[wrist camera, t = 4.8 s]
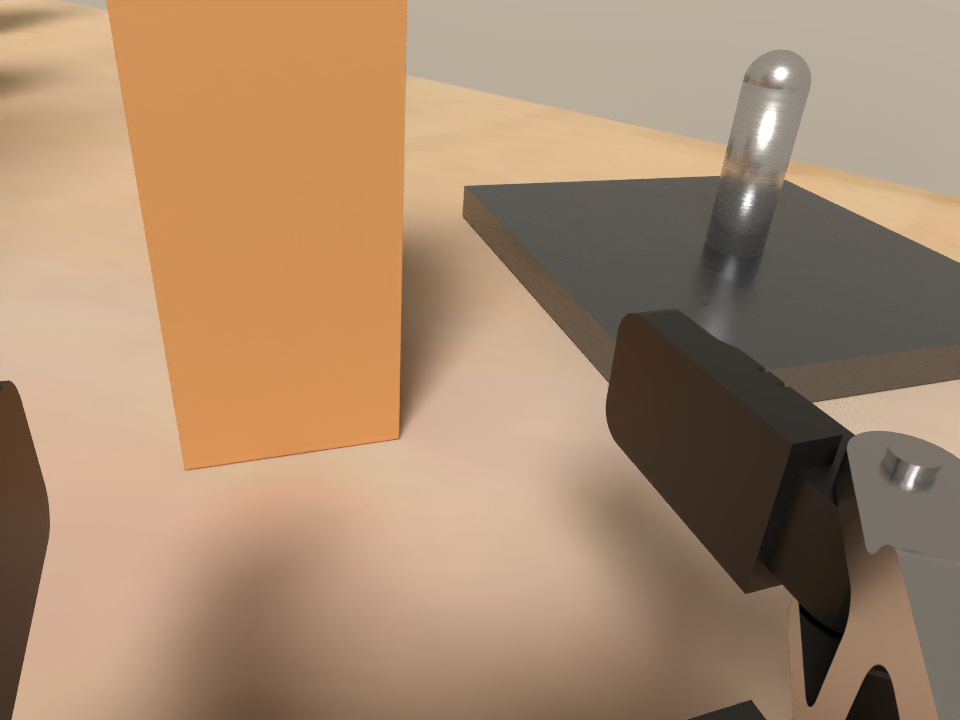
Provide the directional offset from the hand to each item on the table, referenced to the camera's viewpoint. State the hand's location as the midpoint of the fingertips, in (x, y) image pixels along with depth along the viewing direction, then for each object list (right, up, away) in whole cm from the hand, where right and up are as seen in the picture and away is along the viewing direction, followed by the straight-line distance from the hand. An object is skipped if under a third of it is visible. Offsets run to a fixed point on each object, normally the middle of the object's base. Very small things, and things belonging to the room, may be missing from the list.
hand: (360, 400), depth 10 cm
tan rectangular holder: (-4, 0, +12) cm, 13 cm away
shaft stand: (+12, +4, +22) cm, 25 cm away
